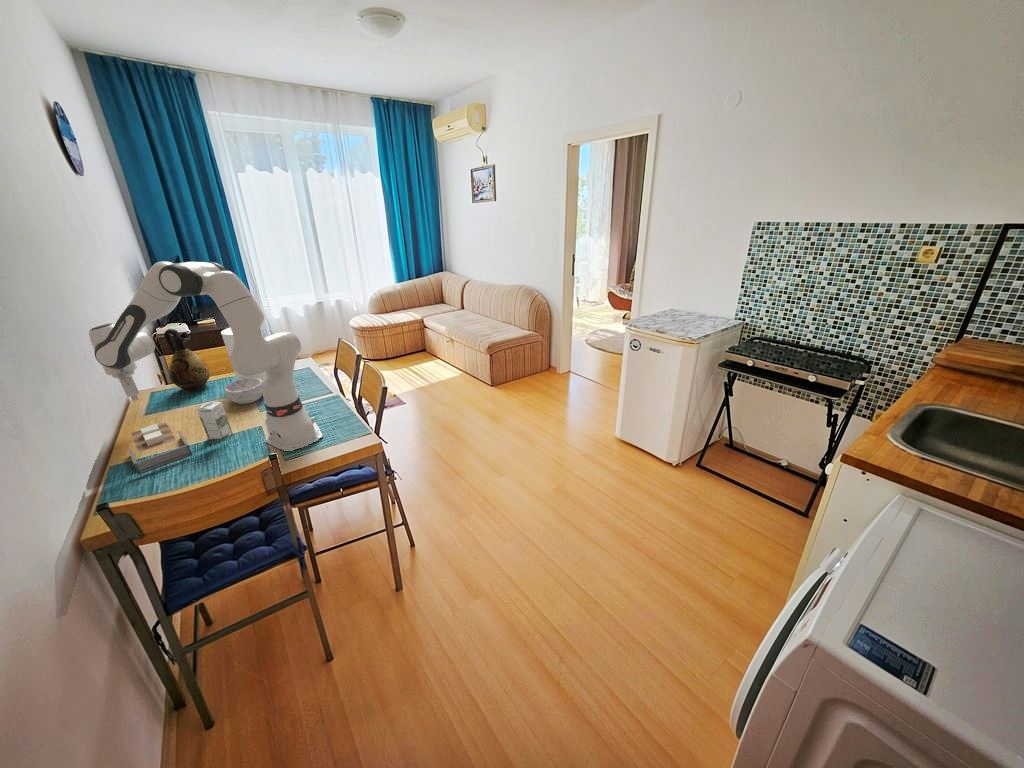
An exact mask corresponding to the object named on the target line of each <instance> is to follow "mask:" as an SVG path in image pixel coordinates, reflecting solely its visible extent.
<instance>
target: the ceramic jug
mask: <svg viewBox="0 0 1024 768" xmlns="http://www.w3.org/2000/svg"><path fill="white" fill-rule="evenodd" d="M163 335H164V338H165V342H166V343H167V344H168V345H169V348H170V350H171V351H172V357H171V360H170V363H169V367H168V375H169V379H170V381H171V382H172V383H173V384H174V385H175V386H176V387H178V388H180V389H181V390H182V391H183V392H184V393H193V392H198V391H202V390H203V389H204V388H206V386H207V382H208V381H209V380H210V379H209V378H210V376H211V375H210V374H211V373H210V370H209V367H208V366H207V364H206V362H205V361H204V360H203V359H202V358H201V357H200V356H198V355H197V354H196V353H195V352H193V351H192V350H190V349H189V348H188V347H186V345H185V342H187V341H190V340H191V336H190V335H189V334H188V333H187V332H182V333H181V334H180V332H179V331H178V330H176V329H174V328H173V329H172V328H168V329H167V330H165V331H164V334H163ZM172 336H173V338H172Z"/></svg>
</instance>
